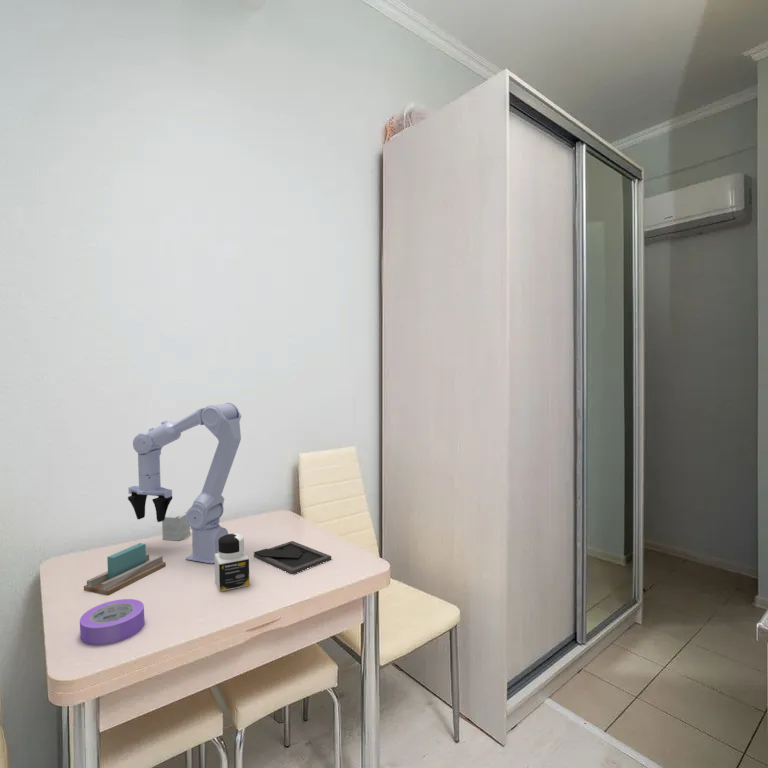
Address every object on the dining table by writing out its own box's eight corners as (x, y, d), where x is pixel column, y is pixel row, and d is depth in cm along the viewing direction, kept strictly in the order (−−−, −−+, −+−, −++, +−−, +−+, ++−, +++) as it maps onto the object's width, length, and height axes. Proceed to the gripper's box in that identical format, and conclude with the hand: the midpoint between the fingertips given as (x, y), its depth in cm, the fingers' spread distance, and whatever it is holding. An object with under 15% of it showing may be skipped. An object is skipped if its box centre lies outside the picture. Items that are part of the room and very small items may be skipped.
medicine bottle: (219, 592, 119) (218, 543, 119) (214, 581, 125) (213, 534, 125) (249, 586, 122) (248, 538, 122) (243, 575, 129) (242, 529, 128)
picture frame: (253, 559, 141) (292, 577, 128) (253, 552, 141) (292, 569, 128) (292, 545, 150) (331, 561, 138) (292, 539, 150) (331, 554, 138)
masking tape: (83, 653, 95) (82, 633, 95) (77, 627, 104) (77, 609, 104) (149, 633, 102) (149, 614, 102) (138, 610, 111) (138, 593, 111)
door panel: (146, 566, 133) (145, 544, 132) (114, 581, 123) (113, 557, 123) (140, 565, 133) (139, 543, 133) (108, 580, 124) (107, 556, 124)
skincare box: (173, 533, 161) (172, 511, 161) (190, 534, 160) (190, 511, 160) (162, 540, 155) (161, 516, 155) (180, 541, 154) (179, 517, 154)
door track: (165, 565, 135) (165, 556, 135) (108, 595, 118) (108, 584, 118) (143, 562, 138) (142, 553, 138) (83, 590, 121) (83, 580, 121)
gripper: (119, 474, 144) (120, 521, 144) (158, 478, 138) (159, 526, 139) (138, 469, 150) (140, 514, 151) (176, 473, 145) (178, 519, 146)
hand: (150, 519), depth 145 cm, fingers open, 7 cm apart
